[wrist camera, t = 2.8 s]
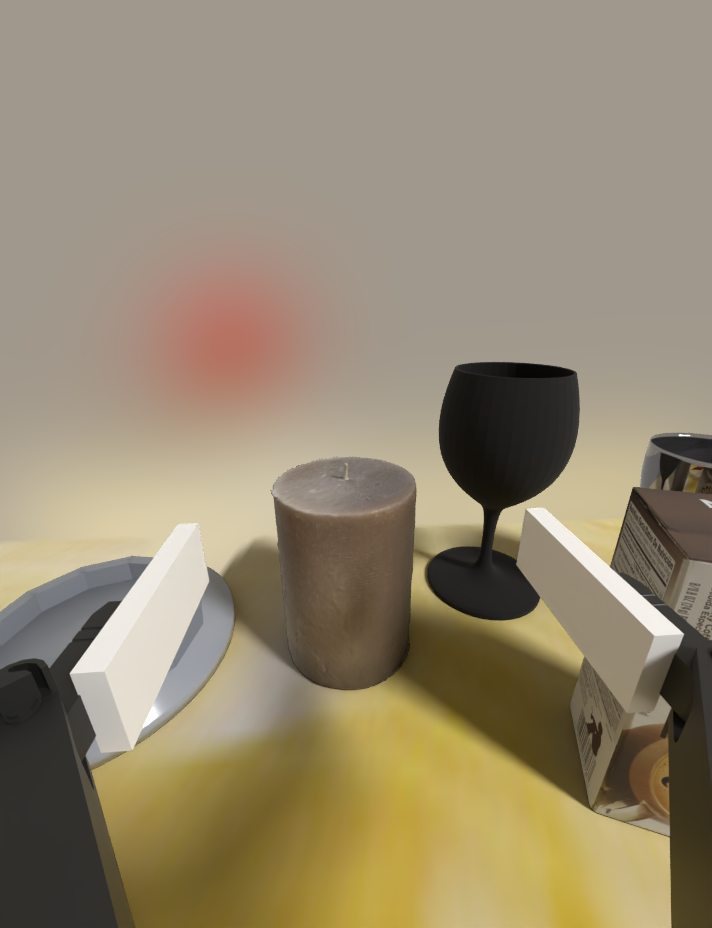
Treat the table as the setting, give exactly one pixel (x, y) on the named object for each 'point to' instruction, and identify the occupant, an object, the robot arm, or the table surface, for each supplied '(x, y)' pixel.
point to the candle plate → (84, 592)
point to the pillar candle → (346, 567)
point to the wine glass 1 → (501, 471)
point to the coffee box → (638, 734)
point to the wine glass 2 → (678, 463)
